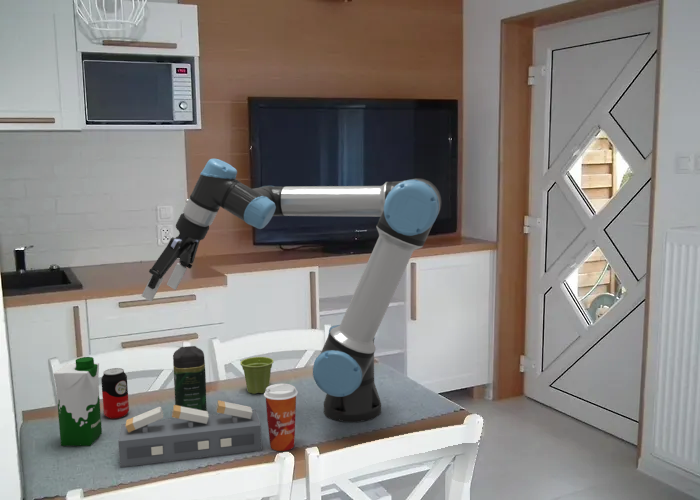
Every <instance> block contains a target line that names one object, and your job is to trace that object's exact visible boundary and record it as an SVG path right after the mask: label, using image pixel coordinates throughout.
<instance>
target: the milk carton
mask: <svg viewBox="0 0 700 500" xmlns="http://www.w3.org/2000/svg"><path fill="white" fill-rule="evenodd" d="M99 370H100V363H98V362H95V359H94V357H92V356H84V357H83V356H82V357H79V358H77V359H75V363H72V362H71V363H70V362H69V363H66V364H64V365H63V366H62V367H60V368H58V369H57V370H56V371H55V372H53V373H52V375H53V378H54V384H55V389H56V400H57V401H56V404H57V415H58V417H57V418H58V428H59V437H60V446H61V447H62V446H63V447H67V446H70V447H73V446H75V447H77V446H78V447H81V446H83V447H87V446H89V447H91V446H92V445H93V444H94V443H95V442H96V441H97V439H99V437H101V435H102V434H103V430H102V415H101V414H102V413H101V401H100V388H99V386H100V385H99Z"/></svg>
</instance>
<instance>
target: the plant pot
mask: <svg viewBox="0 0 700 500" xmlns="http://www.w3.org/2000/svg"><path fill="white" fill-rule="evenodd" d="M274 362H275V360H274V359H273V358H271V357H267V356H255V357H253V356H252V357H248V358H244V359H243V360H241V361H240V362H239V363H240V366H241V367H242V371H243V373H244V379H245V383H246V390H247V392H248V393H250V394H253V395H255V394H264V393H265V391H266V388H267V387H268V386H270V382H271V371H272V368H273V363H274Z"/></svg>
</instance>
